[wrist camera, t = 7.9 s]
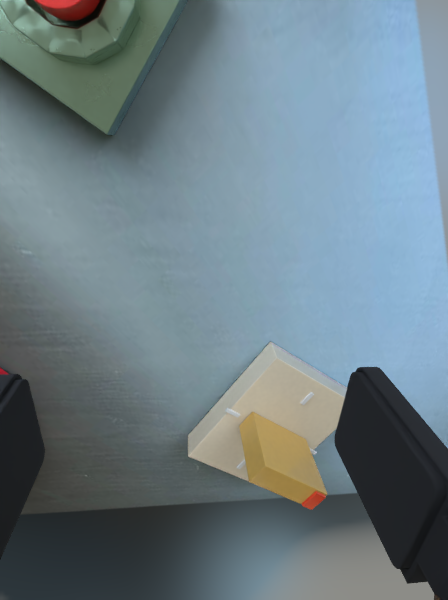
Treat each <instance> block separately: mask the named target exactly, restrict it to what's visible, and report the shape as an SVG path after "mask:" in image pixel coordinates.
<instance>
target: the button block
mask: <svg viewBox="0 0 448 600" xmlns="http://www.w3.org/2000/svg"><path fill="white" fill-rule="evenodd" d="M187 1H188V0H100V2H99V4H98V6H97V7H96V9H95V10H94V11H93V12H92V13H91V14H90V15H89V16H87V17H86V18H83V19H81V20H77V21H66V20H61V19H59V18H56V17H54V16H52V15H50V14H49V13H48V12H46V11H45V10H44V9H43V8H42V7H40V6H39V5H38V4H37V3H36V2H35V1H34V0H0V59H2V60H3V61H5V62H6V63H7V64H9V65H10V66H12V67H13V68H14V69H16V70H17V71H19V72H20V73H21V74H23V75H24V76H26V77H27V78H28V79H30V80H31V81H32V82H34V83H35V84H37V85H38V86H39V87H41V88H42V89H44V90H45V91H46V92H48V93H49V94H51V95H52V96H53V97H55V98H56V99H58V100H59V101H60V102H62V103H63V104H65V105H66V106H67V107H69V108H70V109H72V110H73V111H74V112H76V113H77V114H79V115H80V116H81V117H83V118H84V119H85V120H87V121H88V122H90V123H91V124H92V125H94V126H95V127H97V128H98V129H99V130H101V131H102V132H104V133H105V134H107V135H115V133H116V131H117V129H118V128H119V126H120V124H121V122H122V120H123V118H124V117H125V115H126V113H127V111H128V109H129V107H130V106H131V104H132V102H133V100H134V98H135V96H136V95H137V93H138V91H139V89H140V87H141V85H142V84H143V82H144V80H145V78H146V76H147V75H148V73H149V71H150V69H151V67H152V65H153V64H154V62H155V60H156V58H157V56H158V54H159V53H160V51H161V49H162V47H163V45H164V43H165V42H166V40H167V38H168V36H169V34H170V32H171V31H172V29H173V27H174V25H175V23H176V22H177V20H178V18H179V16H180V14H181V12H182V11H183V9H184V7H185V5H186V3H187Z"/></svg>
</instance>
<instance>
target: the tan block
mask: <svg viewBox="0 0 448 600" xmlns="http://www.w3.org/2000/svg"><path fill="white" fill-rule="evenodd" d="M239 428H240V434H241V440H242V445H243V451H244V456H245V462H246V468H247V473H248V479H249V482H251V483H253V484H255V485H258V486H260V487H262V488H265V489H267V490H269V491H272V492H274V493H276V494H279V495H281V496H283V497H286V498H288V499H290V500H293V501H295V502H297V503H300V504H302V505H303V506H304V507H306V508H309V509H311V510H312V509H313V508H314V507H315V506H317V505H318V504H319V503H320V502H321V501H322V500H324V499H325V498H326V497H325V496H326V495H327V491H326V489H325V486H324V484H323V481H322V479H321V476H320V474H319V471H318V468H317V466H316V463H315V461H314V458H313V456H312V453H311V451H310V448H309V446H308V443H307V440H306V439H305V438H303V437H301V436H299V435H297V434H295V433H293V432H291V431H289V430H288V429H286V428H284V427H282V426H280V425H278V424H276V423H274V422H272V421H270V420H268V419H266V418H264V417H263V416H261V415H259V414H257V413H255V412H252V413H251V414H250V415H249V416H248V417H247V418H246V419H245V420H244V421H243V422H242V423H241V424H240V425H239Z"/></svg>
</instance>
